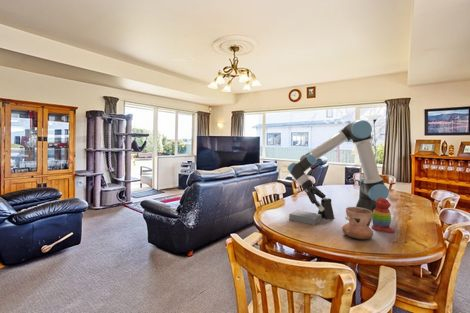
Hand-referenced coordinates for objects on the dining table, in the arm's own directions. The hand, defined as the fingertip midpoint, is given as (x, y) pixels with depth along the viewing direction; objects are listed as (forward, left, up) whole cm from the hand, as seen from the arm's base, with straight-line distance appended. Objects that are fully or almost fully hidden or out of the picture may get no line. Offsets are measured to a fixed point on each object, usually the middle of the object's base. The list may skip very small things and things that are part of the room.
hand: (326, 208), depth 164 cm
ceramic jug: (-23, +22, -6) cm, 33 cm away
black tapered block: (+1, 0, -6) cm, 6 cm away
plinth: (+9, +14, -6) cm, 17 cm away
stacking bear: (-31, +2, -6) cm, 32 cm away
